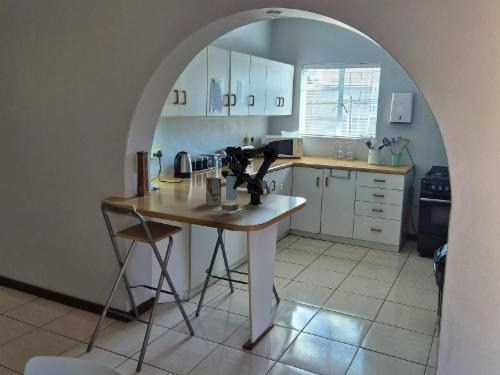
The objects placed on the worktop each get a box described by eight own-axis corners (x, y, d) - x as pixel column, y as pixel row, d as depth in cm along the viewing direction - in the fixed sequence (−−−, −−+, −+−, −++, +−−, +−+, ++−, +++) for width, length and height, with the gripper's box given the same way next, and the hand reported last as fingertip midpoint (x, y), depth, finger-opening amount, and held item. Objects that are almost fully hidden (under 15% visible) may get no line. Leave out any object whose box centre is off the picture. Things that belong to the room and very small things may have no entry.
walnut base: (230, 205, 270) (230, 200, 270) (246, 208, 264) (246, 202, 263) (213, 211, 257) (213, 205, 257) (230, 214, 251) (230, 208, 250)
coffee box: (221, 205, 272) (221, 178, 269) (212, 206, 269) (212, 179, 266) (215, 202, 280) (214, 176, 277) (205, 203, 277) (205, 177, 274)
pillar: (231, 198, 259) (230, 175, 257) (237, 199, 257) (237, 176, 254) (226, 199, 256) (225, 177, 253) (232, 200, 253) (232, 177, 250)
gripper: (222, 156, 260) (210, 178, 253) (249, 159, 249) (237, 181, 243) (231, 168, 268) (219, 189, 261) (257, 171, 257) (245, 193, 251)
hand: (230, 188), depth 254 cm, fingers closed on pillar, 4 cm apart
